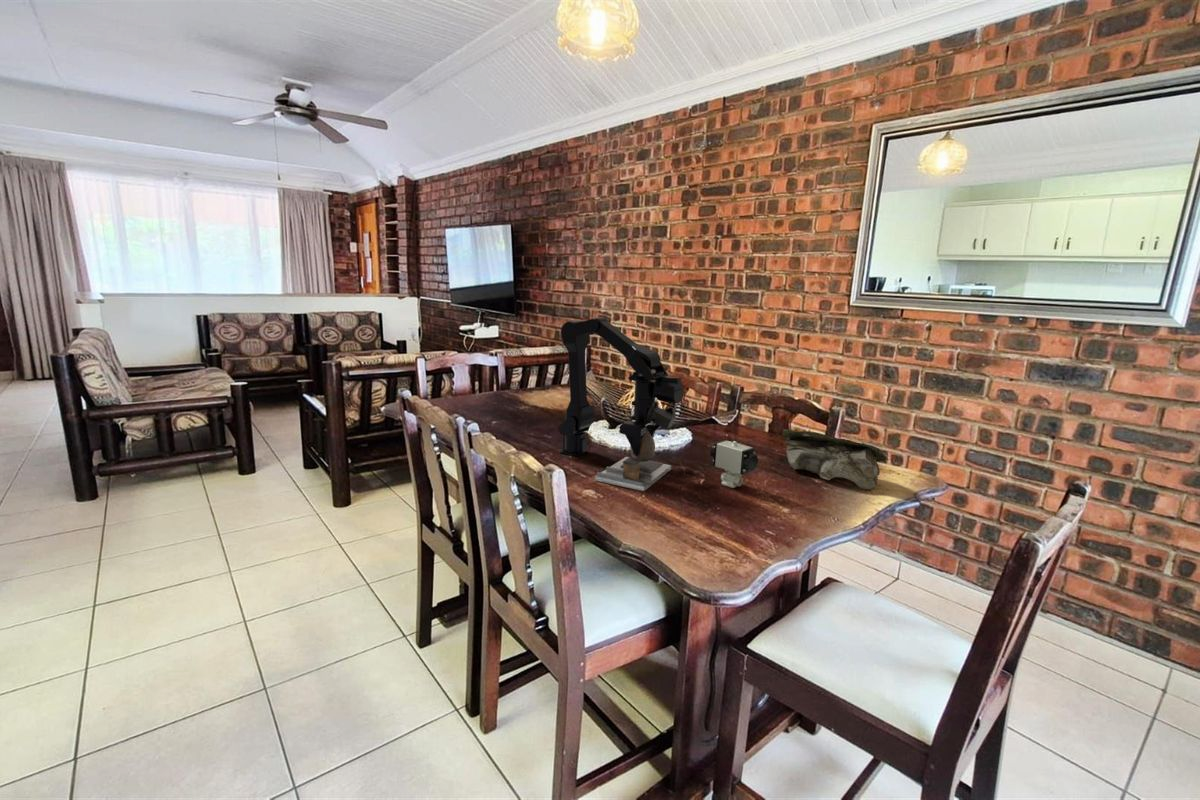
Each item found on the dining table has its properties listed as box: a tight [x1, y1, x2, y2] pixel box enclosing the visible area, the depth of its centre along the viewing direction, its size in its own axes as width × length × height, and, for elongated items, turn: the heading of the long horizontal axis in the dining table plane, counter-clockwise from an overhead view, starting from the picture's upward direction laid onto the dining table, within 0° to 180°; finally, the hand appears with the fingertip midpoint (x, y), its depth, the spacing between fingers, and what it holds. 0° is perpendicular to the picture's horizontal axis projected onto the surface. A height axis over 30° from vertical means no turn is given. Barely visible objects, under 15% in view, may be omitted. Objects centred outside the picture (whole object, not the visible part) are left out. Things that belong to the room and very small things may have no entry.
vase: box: [629, 429, 656, 462], centre depth 150 cm, size 7×7×9 cm
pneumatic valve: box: [709, 439, 759, 489], centre depth 140 cm, size 6×12×12 cm, turn 42°
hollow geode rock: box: [781, 428, 890, 490], centre depth 148 cm, size 28×13×15 cm
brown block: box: [623, 456, 640, 480], centre depth 140 cm, size 3×4×5 cm
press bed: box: [594, 456, 672, 492], centre depth 147 cm, size 14×19×2 cm
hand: (642, 452), depth 150 cm, fingers closed on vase, 7 cm apart
